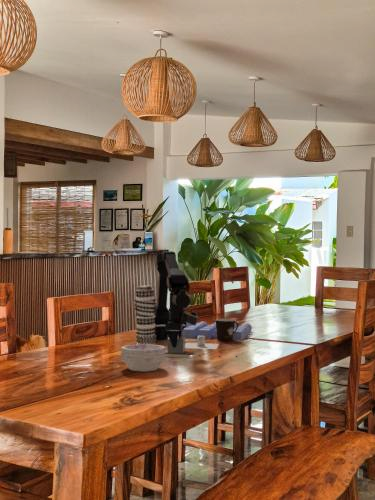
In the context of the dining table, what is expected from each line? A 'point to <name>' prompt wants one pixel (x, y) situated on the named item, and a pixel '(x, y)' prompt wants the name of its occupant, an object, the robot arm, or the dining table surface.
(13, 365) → the dining table surface
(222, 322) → the coffee mug
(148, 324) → the leaning tower model
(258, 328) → the dining table surface
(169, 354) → the mat
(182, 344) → the gray cube
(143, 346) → the paper bowls
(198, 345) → the post stand
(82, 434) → the dining table surface
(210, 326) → the blocks
